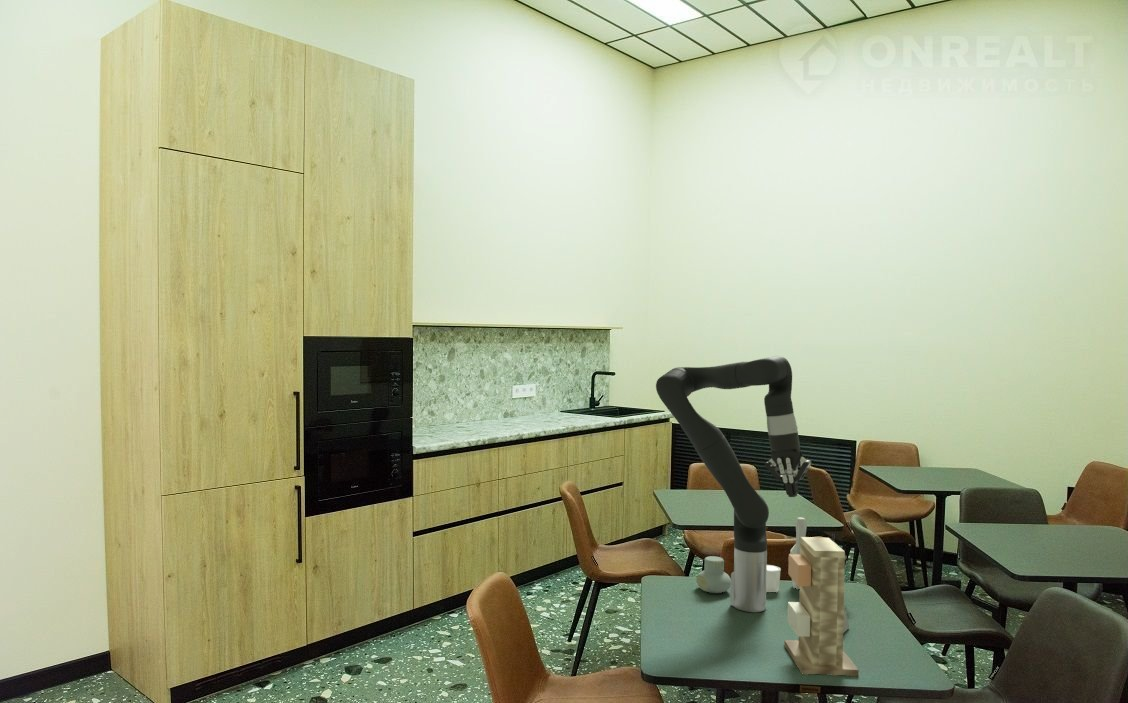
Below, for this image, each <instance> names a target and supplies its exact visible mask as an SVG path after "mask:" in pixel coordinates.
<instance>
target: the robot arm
mask: <svg viewBox="0 0 1128 703" xmlns="http://www.w3.org/2000/svg"><path fill="white" fill-rule="evenodd" d="M767 385H768V392H767V394H766V395H765V396H764V400H763V401H764V402H763V403H764V409H765V415H766V427H767V428H766V429H767V434H768V439H769V440H768V441H769V447H770V450H771V455H770V459H769V460H768V461H766V462H764V467H765V468H766V469H767V470H768V471H769V472H770V473H771V475H772V476H774V478H775V479H776V480H777V481H778V482H779V481H780V482H783V483H784V487H785V494H786V495H787V496H788V497H789V498H796V497H797V496H798V494H799V486H798V481H800V480H803V479H804V477H805V476H806V474H807V473H808V470H809V468H810V467H811V466H812V463H813V462H812V460H811V459H806V458H805V457H804V454H803V453H802V451H801V443H800V438H799V431H798V428H799V427H798V425H797V421H796V420H797V419H796V417H795V413H794V412H795V410H794V406H793V402H792V400H793V399H792V391H793V390H792V389H793V371H792V366H791V364H790V362H789V361H788V360H787V358H786V357H784V356H782V355H774V356H769V357H765V358H760V359H753V360H751V361H738V362H734V363H733V362H732V363H727V364H722V365H715V366H705V367H703V366H702V367H695V366H693V367H690V366H688V367H687V366H685V367H684V366H682V367H680V366H679V367H678V366H677V367H674V368H672V369H670V370H668V371H667V372H665V374H663V375H661V376H660V377H658V378H657V380H656V383H655V389H656V393H657V395H658V397H659V399H660V400H661V401H662V403H663V404H664V405H665V407H666V409H667V410H668V411H669V412H670V414H671V415H672V416H673V417H674V419H675V420H676V421H677V423H678V425H680V427H681V429H682V430H683V432H684V433H685V435H686V436H687V438H688V439H689V441H690V443H691V444H692V446H693V448H694V449H695V452H696V453H697V454H698V456H699V458H700V460H701V461H702V463H703V464H704V465H705V467H706V468H707V469H708V471H709V473H710V474H711V475H712V476H713V478H714V479H715V481H716V482H717V483H718V484H719V485H720V487H721V488H722V489H723V491H724V492H725V494H726V496H727V498H728V500H729V502H730V503H731V505H732V508H733V539H734V540H733V541H734V543H733V544H734V546H733V548H734V551H733V555H734V556H733V557H734V558H733V560H734V561H733V572H731V574H730V579H731V587H730V606H732V607H734V608H735V609H737V610H739V611H742V612H746V613H747V612H748V613H761V612H763V611H765V610H766V609H767V592H766V573H767V565H768V563H767V561H768V558H767V557H768V540H767V522H768V519H769V516H770V514H769V513H770V512H769V509H770V508H769V506H768V504H767V502H766V501H765V499H764V498H763V497H762V495H760V494H759V493H758V492H757V490H755V488H754V487H753V486H752V484H751V483H750V482H749V480H748V478H747V476H746V475H745V472H744V471H743V468H742V466H741V463H740V462H739V459H738V458H737V456H736V453H735V452H734V450H733V448H732V446H731V445H730V443H729V441H728V440H727V438H726V437H725V435H724V433H723V431H721V429H720V428H718V427H717V425H715V424H714V423H712V422H710V421H709V420H707V419H706V418H704V417H703V416H701V414H699V413H698V412H697V411H696V409H695V408H694V407H693V405H692V403H691V402H690V400H689V398H688V397H689V396H690V395H691V394H693V393H694V392H696V391H700V390H703V389H707V388H708V389H709V388H714V389H720V390H733V389H734V390H735V389H742V388H743V389H744V388H748V387H752V386H755V387H756V386H767ZM799 466H800V468H799ZM798 468H799V469H798Z"/></svg>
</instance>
